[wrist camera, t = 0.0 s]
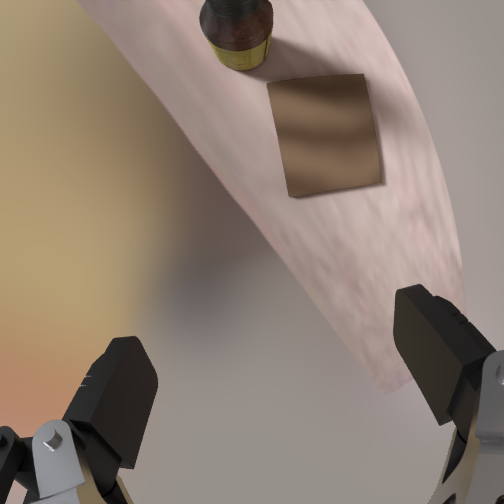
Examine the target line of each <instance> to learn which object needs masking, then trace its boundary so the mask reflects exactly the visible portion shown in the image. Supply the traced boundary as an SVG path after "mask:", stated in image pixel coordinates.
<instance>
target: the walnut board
mask: <svg viewBox="0 0 504 504" xmlns="http://www.w3.org/2000/svg"><path fill="white" fill-rule="evenodd" d="M267 90H268V94H269V99H270V103H271V108H272V113H273V117H274V122H275V127H276V132H277V137H278V142H279V147H280V152H281V157H282V162H283V167H284V173H285V178H286V184H287V189H288V195H289V197H295V196H301V195H307V194H312V193H318V192H324V191H330V190H336V189H342V188H348V187H355V186H361V185H368V184H374V183H381V173H380V164H379V156H378V149H377V142H376V135H375V129H374V123H373V117H372V112H371V106H370V101H369V96H368V91H367V87H366V82H365V78H364V74H348V75H332V76H320V77H310V78H301V79H293V80H286V81H279V82H272V83H267Z"/></svg>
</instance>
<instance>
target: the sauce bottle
mask: <svg viewBox="0 0 504 504" xmlns="http://www.w3.org/2000/svg"><path fill="white" fill-rule="evenodd" d="M199 20H200V26H201V29H202V31H203V33H204V35H205V36H206V38H207V40H208V42H209V43H210V45H211V47H212V49H213V50H214V52H215V54H216V56H217V58H218V59H219V61H220V62H221V63H223V64H224V65H225V66H226V67H228V68H231V69H234V70H242V71H248V70H251V69H253V68H255V67H257V66H258V65H260V64H261V63H262V62H263V61H264V60H265V58H266V56H267V54H268V52H269V47H270V41H271V34H272V29H273V8H272V4H271V3H270V2H269V1H268V0H206V1H205V3H204V5H203V6H202V8H201V11H200V17H199Z"/></svg>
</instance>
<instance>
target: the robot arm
mask: <svg viewBox="0 0 504 504" xmlns="http://www.w3.org/2000/svg"><path fill="white" fill-rule="evenodd" d="M393 336H394V342H395V345H396V348H397V350H398V352H399V353H400V355H401V357H402V358H403V360H404V362H405V364H406V365H407V367H408V369H409V370H410V372H411V374H412V376H413V378H414V379H415V381H416V383H417V384H418V386H419V388H420V390H421V392H422V394H423V395H424V397H425V399H426V401H427V403H428V405H429V407H430V409H431V410H432V412H433V414H434V416H435V418H436V420H437V422H438V424H439V426H441V425H443V424H445V423H448V422H450V421H452V420H453V422H454V424H455V425H456V428H455V430H454V432H453V437H452V440H451V444H450V448H449V451H448V455H447V458H446V461H445V465H444V467H443V470H442V474H441V476H440V479H439V482H438V485H437V487H436V490H435V492H434V494H433V495H432V497H431V499H430V500H429V502H428V504H504V350H501V351H496V349H495V348H494V347H493V346H492V345H491V344H490V343H489V342H488V341H487V339H486V338H485V337H484V336H483V335H482V334H481V333H480V332H479V331H478V330H477V329H476V327H475V326H474V325H473V324H472V323H471V322H468V319H467V318H466V317H465V316H464V315H463V314H461V312H460V311H459V310H458V309H457V308H456V307H455V306H454V305H453V304H452V303H451V302H450V301H448V300H446V299H444V298H442V297H440V296H434V297H433V296H432V294H431V293H430V292H429V291H428V290H427V289H426V288H425V287H424V286H423V285H421V284H417V285H413V286H409V287H406V288H402V289H398V290H397V291H396V295H395V311H394V327H393ZM157 388H158V378H157V374H156V371H155V369H154V367H153V365H152V363H151V361H150V359H149V358H148V356H147V354H146V352H145V350H144V348H143V345H142V343H141V342H140V340H139V339H138V338H137V337H136V336H129V337H118V338H114V339H112V341H111V342H110V344H109V346H108V347H107V349H106V351H105V353H104V354H102V355H101V356H100V357H99V358H98V359H97V360H96V361H95V362H94V363H93V364H92V365H91V367H90V369H89V371H88V372H87V374H86V377H85V378H84V379H83V381H82V383H81V387H79V388H78V390H77V392H76V394H75V396H74V398H73V400H72V401H71V403H70V405H69V407H68V409H67V411H66V413H65V414H64V416H63V418H62V420H51V421H49V422H47V423H45V424H43V425H42V426H41V427H40V428H39V429H38V430H37V431H36V433H35V435H34V437H27V438H20V437H19V436H18V435H17V434H16V433H15V432H14V431H13V430H12V429H11V428H10V427H8V426H2V427H0V504H5V502H6V499H7V497H8V494H9V491H10V489H11V486H12V483H13V481H14V479H15V480H16V481H17V482H18V483H20V484H21V485H22V486H23V487H25V488H26V489H27V490H28V491H27V493H26V496H25V499H24V502H23V504H133V501H132V500H131V498H130V496H129V494H128V492H127V490H126V488H125V486H124V483H123V481H122V479H121V478H120V477H119V475H117V473H118V469H119V467H120V468H127V469H134V467H135V463H136V460H137V456H138V452H139V449H140V445H141V442H142V439H143V435H144V432H145V428H146V425H147V421H148V418H149V415H150V412H151V408H152V405H153V402H154V399H155V395H156V392H157Z"/></svg>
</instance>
